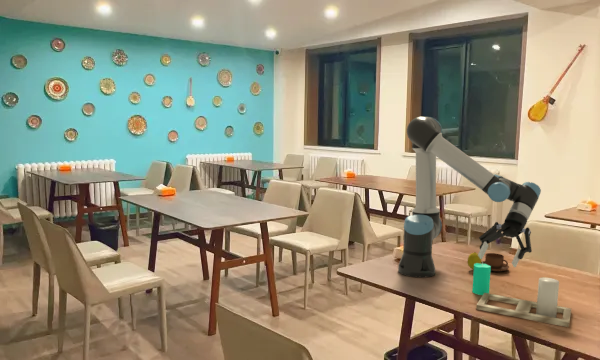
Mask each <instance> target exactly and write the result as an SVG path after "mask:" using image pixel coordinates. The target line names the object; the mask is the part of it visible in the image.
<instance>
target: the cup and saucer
mask: <svg viewBox="0 0 600 360" xmlns="http://www.w3.org/2000/svg"><path fill="white" fill-rule="evenodd" d="M504 258H505V257H504V255H502V254H499V253H494V252H489V253H485V257H484V261H483V260H482V261H483V264H487V265H489V266H491V272H505V271H508V270H509V268H510V266H509V262H508V261H507V260H506V259H504ZM482 261H481V264H482ZM504 262H505V263H504Z"/></svg>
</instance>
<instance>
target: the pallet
mask: <svg viewBox="0 0 600 360" xmlns="http://www.w3.org/2000/svg"><path fill="white" fill-rule="evenodd" d="M489 300H490V301H494V302H495V301H496V302H502V303H506V304H513V305H516V307H515V309H510V308H506V307H500V306H496V305H489V304H487V303H489ZM532 308H534V309H537V301H532V300H526V299H520V298H516V297H510V296H504V295H499V294H493V293H490V292H489V293H484V294H483V295H481V297H480V299H479V301H478V302H477V303H476V306H475V309H476V310H479V311H484V312H490V313H494V314H500V315H504V316H509V317H515V318H520V319H525V320H530V321H535V322H539V323H543V324H544V323H545V324H549V325H554V326H555V325H556V326H561V327H564V328H565V327H566V328H569V327H570V321H571V315H572V308H570V307H566V306H559V305H557V313H560V314H562V318H558V317H556V318H553V317H548V316H543V315H537V314H536V313H532V312H531V310H532Z"/></svg>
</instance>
